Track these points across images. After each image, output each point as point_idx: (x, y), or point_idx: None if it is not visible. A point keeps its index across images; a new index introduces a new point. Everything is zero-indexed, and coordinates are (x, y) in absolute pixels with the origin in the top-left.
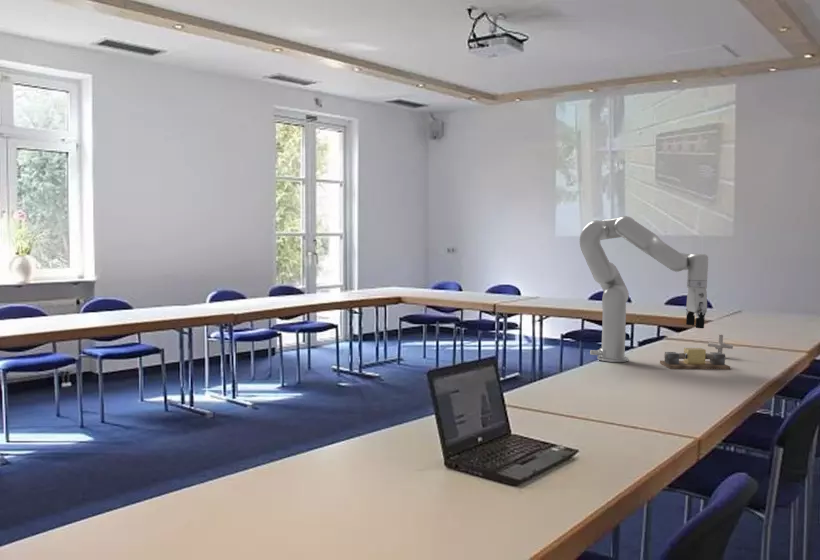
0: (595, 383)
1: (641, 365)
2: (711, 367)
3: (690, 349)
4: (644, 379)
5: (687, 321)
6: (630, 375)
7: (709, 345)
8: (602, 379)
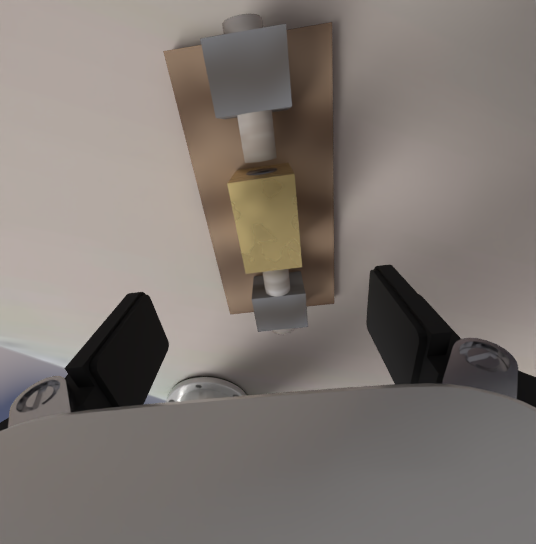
0: None
1: (280, 357)
2: (332, 142)
3: (296, 256)
4: None
5: (158, 366)
6: None
7: None
8: None
